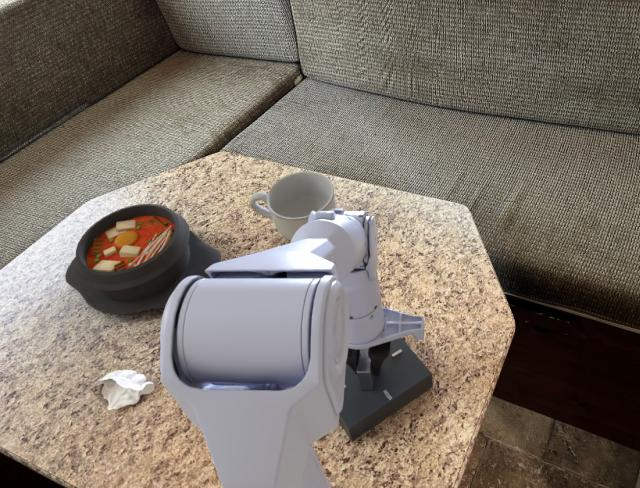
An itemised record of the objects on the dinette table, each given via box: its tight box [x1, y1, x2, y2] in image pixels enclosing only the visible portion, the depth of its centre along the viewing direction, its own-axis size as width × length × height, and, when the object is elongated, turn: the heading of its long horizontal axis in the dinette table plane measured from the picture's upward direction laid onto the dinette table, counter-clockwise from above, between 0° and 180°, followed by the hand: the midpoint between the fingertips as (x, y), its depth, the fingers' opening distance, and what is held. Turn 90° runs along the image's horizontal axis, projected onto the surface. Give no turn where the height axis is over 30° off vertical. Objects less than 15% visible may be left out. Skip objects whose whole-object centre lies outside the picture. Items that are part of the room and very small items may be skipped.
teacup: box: [249, 170, 338, 241], centre depth 98 cm, size 14×11×8 cm
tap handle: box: [357, 348, 375, 391], centre depth 74 cm, size 6×2×4 cm, turn 176°
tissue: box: [83, 369, 156, 411], centre depth 78 cm, size 6×8×4 cm
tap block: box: [339, 337, 434, 442], centre depth 76 cm, size 12×10×3 cm
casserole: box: [64, 203, 222, 315], centre depth 93 cm, size 25×19×8 cm
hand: (369, 368), depth 75 cm, fingers closed on tap handle, 2 cm apart
